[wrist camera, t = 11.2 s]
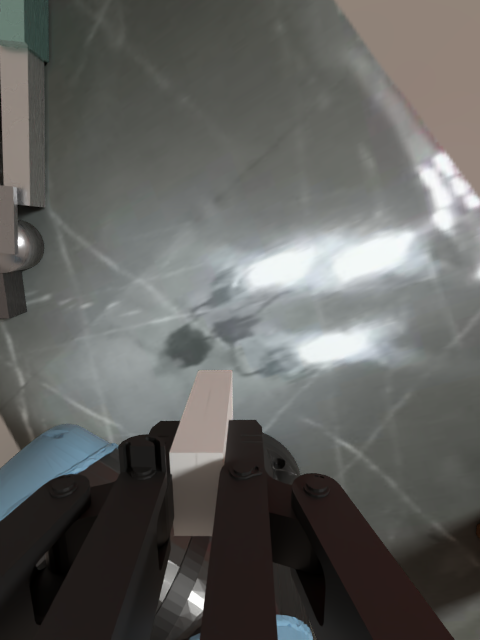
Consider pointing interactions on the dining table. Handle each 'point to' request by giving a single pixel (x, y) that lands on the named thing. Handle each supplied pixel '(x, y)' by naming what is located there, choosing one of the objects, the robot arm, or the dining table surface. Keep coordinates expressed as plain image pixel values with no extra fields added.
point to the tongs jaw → (22, 111)
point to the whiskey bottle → (478, 530)
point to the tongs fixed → (17, 263)
